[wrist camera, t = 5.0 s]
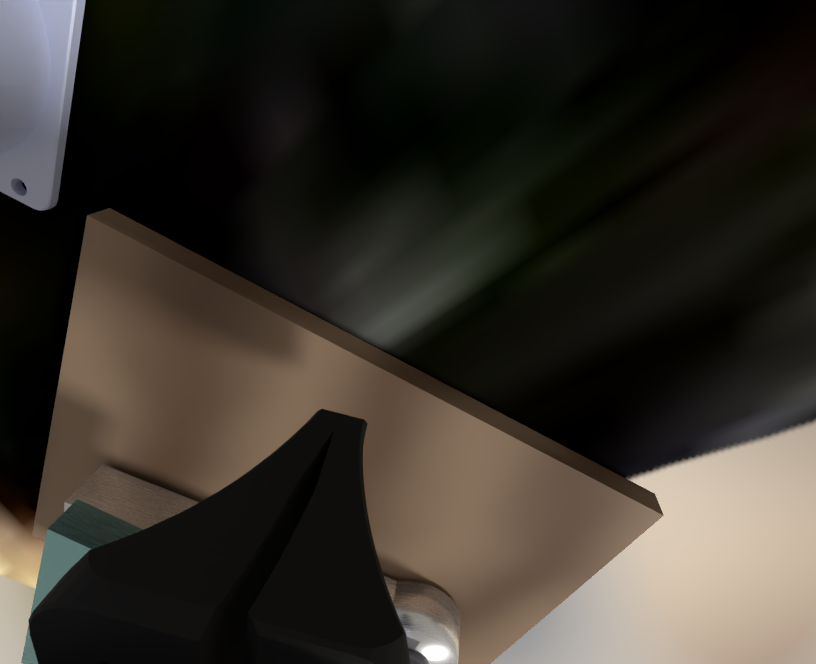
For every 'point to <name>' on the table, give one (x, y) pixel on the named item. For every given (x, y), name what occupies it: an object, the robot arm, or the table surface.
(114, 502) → the latch bar
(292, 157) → the table surface
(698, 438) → the table surface
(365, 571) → the robot arm
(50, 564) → the block
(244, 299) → the board
